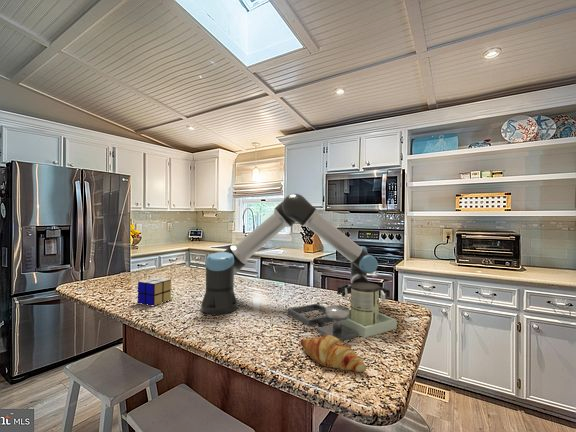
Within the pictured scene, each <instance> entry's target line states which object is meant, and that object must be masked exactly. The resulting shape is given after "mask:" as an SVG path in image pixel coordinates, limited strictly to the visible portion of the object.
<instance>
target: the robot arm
mask: <svg viewBox="0 0 576 432" xmlns="http://www.w3.org/2000/svg"><path fill="white" fill-rule="evenodd" d="M273 210H274V211H273V213H272V214H271V215H270V216H269V217H267V219H264V221H263V222H262V223H260V224H259V225H258V226H257V227H256V228H255V229H253V230H252V231H251V232H250V233H249V234H248V235H246V236H245V237H244V238H243V239H242V240H241V241H239V242H238V243H237V244H236V245H233V244H232V245H230V246H229V247H227V248H226V249H225V250H224V251H220V252H219V251H218V252H214V253H213V252H212V253H210V254H208V255H207V257H206V261H205V292H204V295H203V299H202V301H201V304H200V307H201V308H200V311H201V310H202V311H203V312H202V311H201V312H202V313H204V312H205V313H204V314H208V313H209V314H208V315H224V314H230V313H232V312H234V311H236V310H238V301H237V300H238V299H237V297H236V294H235V291H234V282H235V281H234V279H235V277H234V276H235V275H236V274H237V273H238V272H239V271H240V270H241V269H243V268H244V267H245V266H246V265H248V260H249V259H250V258H251V257H252V256H253V255H254V254H256V252H258V251H259V250H260V249H261V248H262V247H264V246H265V245H266V244H267V243H268V242H269V241H271V240H272V239H273V238H274V237H276V235H277V234H279V233H280V232H281V231H282V230H284V229H285V228H286V227H288V228H291V227H292V226H293V225H295V223H298V224H299V225H300V226H302V227H307V228H308V230H311V231H312V232H313V233H314V234H315V235H317V236H318V237H319V238H321V240H323V241H325V242H326V244H328V245H329V246H330V247H332V248H333V249H335V251H337V252H338V253H339V254H341V255H342V256H343V257H345V259H347V260H349V261H350V275H349V279H350V280H349V281H350V283H351V284H352V283H356V282H366V283H370V281H369V279H368V274H372V273H374V272H375V271H376V270H377V269H378V266H379V263H378V260H377V259H376V257H374V256H373V255H371V254H370V253H368V248H367V247H366V246H364V245H363V246H362V245H361V246H360V245H358V244H357V243H356V242H355V241H354V240H352V239H351V238H350V237H348V235H346V234H345V233H343V232H342V231H341V230H339V229H338V228H337V227H336V226H334V225H333V224H332V223H331V222H330V221H328V220H327V219H326V218H325V217H323V215H321V214H319V213H318V209H317V208H316V207H315V206H314V205H312V203H310V202H309V201H308V199H306V198H305V197H304V196H303V195H302V194H299V193H291V194H289V195H287V196H286V197H285V198H284V199H283V200H282V202H280V203H279V204H278V205H277V206H275V207H274V209H273ZM351 284H349V283H347V282H346V283H344V284H342V285H340V286H337V288H336V289H337V292H336V293H337V295H341V297H344V298H345V299H344V300H345V301H348V295H349V294H351ZM378 286H379V298H380V299H381V301H382V303H386V299H387V298H390V297H391V295H390V294H391V290H389V289H387V288H385V287H382V286H380V285H378Z"/></svg>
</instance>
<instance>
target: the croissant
mask: <svg viewBox="0 0 576 432" xmlns="http://www.w3.org/2000/svg"><path fill="white" fill-rule="evenodd" d="M342 342H343V341H340V340H339V339H338V338H337V337H334V336H331V335H326V334H325V335H324V336H323V335H322V336H316V337H315V338H313V337H312V338H311V337H308V338H306V339H305V338H301V339H300V345H301V347H302V349H303V350H304V351H305V353H306V355H307V356H308V357H309V356H310V357H309V358H311V359H312V361H314V362H316V363H318V362H319V363H318V364H320V363H321V364H320V365H322V364H323V366H324V365H325V367H326V366H328V367H327V368H330V367H333V368H332V369H339V370H342V369H343V370H342V371H353V372H354V373H363V372H365V371H367V365H365V362H364V360H363V359H362V358H361V356H359V355H357V353H356V352H355V351H354V349H353V348H352V347H351V346H350V345H346V344H343V343H342Z"/></svg>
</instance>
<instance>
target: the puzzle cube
mask: <svg viewBox="0 0 576 432" xmlns="http://www.w3.org/2000/svg"><path fill="white" fill-rule="evenodd" d="M171 290H172V279H168V278H161V277H151V278H148V279H144V280H140V281H138V282H137V304H138V303H142V304H148V305H157V304H160V303H162V302H165V301H168V300H170V301H171V300H172V298H171V297H172V291H171ZM168 302H169V301H168ZM165 303H166V302H165ZM142 304H141V305H142ZM162 304H163V303H162ZM148 305H147V306H148ZM160 305H161V304H160ZM157 306H158V305H157Z"/></svg>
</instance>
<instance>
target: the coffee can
mask: <svg viewBox="0 0 576 432" xmlns="http://www.w3.org/2000/svg"><path fill="white" fill-rule="evenodd" d="M350 285H351V293H350V310H351V320H352V321H354V322H356V323H359V324H361V325H363V326H368V325H372V324H376V323H379V313H380V311H379V310H380V309H379V307H380V304H379V303H380V296H379V286H380V285H379V284H376V283H372V282H369V283H366V282H356V283H351V284H350Z"/></svg>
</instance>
